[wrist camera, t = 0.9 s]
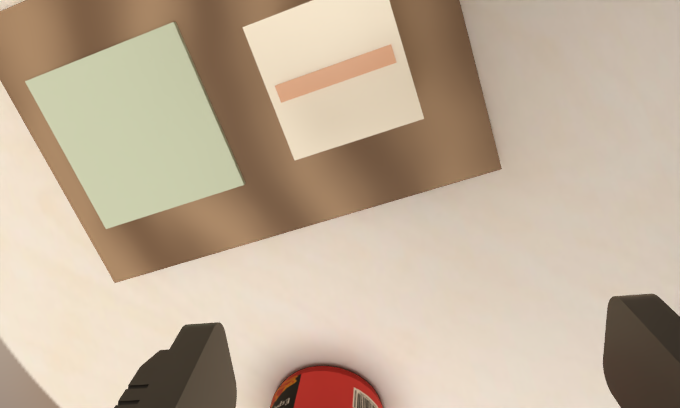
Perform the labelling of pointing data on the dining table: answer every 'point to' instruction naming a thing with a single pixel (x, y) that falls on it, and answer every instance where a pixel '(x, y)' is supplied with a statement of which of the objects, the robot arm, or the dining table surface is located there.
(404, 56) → the cream drawer box
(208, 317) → the dining table surface
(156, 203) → the mat
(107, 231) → the post board
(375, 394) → the canned food
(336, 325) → the dining table surface
